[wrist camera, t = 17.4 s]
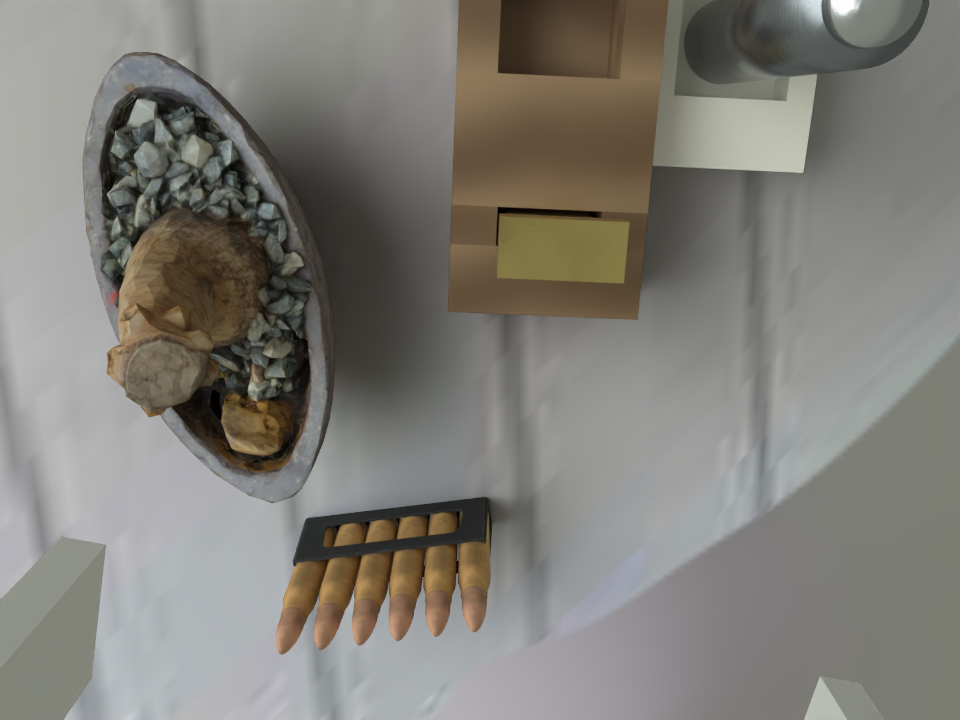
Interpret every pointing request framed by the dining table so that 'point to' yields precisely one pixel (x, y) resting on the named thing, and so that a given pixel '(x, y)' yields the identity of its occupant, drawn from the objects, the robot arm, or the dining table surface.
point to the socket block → (552, 140)
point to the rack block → (727, 113)
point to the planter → (208, 276)
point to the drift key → (561, 246)
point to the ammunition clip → (388, 569)
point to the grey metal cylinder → (797, 37)
